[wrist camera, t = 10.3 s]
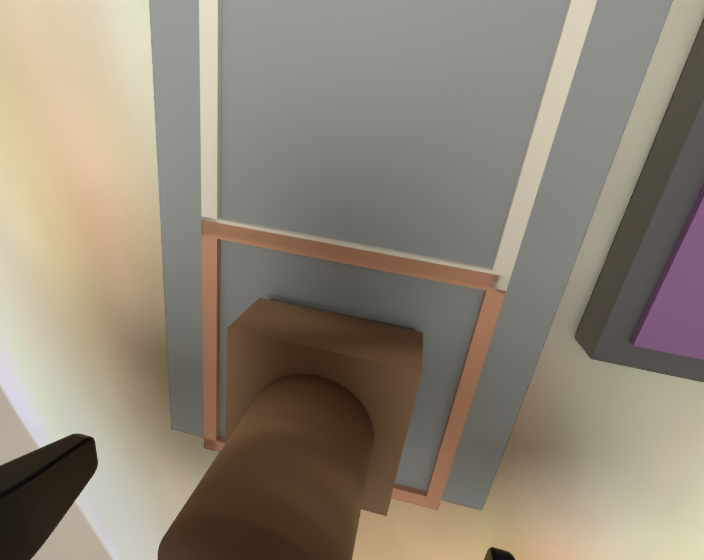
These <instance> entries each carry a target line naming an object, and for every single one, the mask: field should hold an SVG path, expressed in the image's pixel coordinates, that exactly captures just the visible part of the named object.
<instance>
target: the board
mask: <svg viewBox="0 0 704 560" xmlns="http://www.w3.org/2000/svg"><path fill="white" fill-rule="evenodd" d="M672 2H673V0H149V6H150V26H151V45H152V64H153V83H154V102H155V122H156V141H157V160H158V179H159V199H160V218H161V237H162V256H163V275H164V295H165V314H166V333H167V352H168V372H169V391H170V410H171V429H174V430H178V431H182V432H185V433H189V434H193V435H197V436H201V437H204V448H206V449H210V450H214V451H218V452H220V451H221V450H222V448H223V447H224V445H225V417H226V364H227V328H228V327H229V326H230V325H231V324H232V323H233V322H234V321H235V320H236V319H237V318H238V317H239V316H240V315H241V314H242V313H244V312H245V311H246V310H247V309H248V308H249V307H250V306H251V305H252V304H253V303H254V302H255V301H256V300H257V299H258V298H263V299H268V300H271V299H276V300H280V301H285V302H290V303H294V304H299V305H304V306H308V307H313V308H318V309H323V310H327V311H332V312H337V313H341V314H346V315H351V316H356V317H360V318H365V319H370V320H374V321H379V322H384V323H389V324H393V325H398V326H403V327H407V328H412V329H415V331H418V332H423V357H422V374H421V378H420V382H419V386H418V390H417V395H416V399H415V403H414V407H413V411H412V415H411V419H410V423H409V427H408V431H407V435H406V439H405V443H404V447H403V451H402V455H401V459H400V463H399V467H398V471H397V475H396V479H395V483H394V487H393V491H392V495H391V498H393V499H397V500H401V501H405V502H408V503H412V504H416V505H420V506H423V507H427V508H431V509H435V510H438V507H439V504H440V501H441V500H443V501H447V502H451V503H455V504H459V505H462V506H466V507H470V508H474V509H477V510H481V511H482V509H483V506H484V503H485V501H486V498H487V495H488V493H489V490H490V487H491V485H492V482H493V479H494V477H495V474H496V471H497V469H498V466H499V463H500V461H501V458H502V455H503V453H504V450H505V447H506V445H507V442H508V439H509V437H510V434H511V431H512V429H513V426H514V423H515V421H516V418H517V415H518V413H519V410H520V407H521V405H522V402H523V399H524V397H525V394H526V391H527V389H528V386H529V383H530V381H531V378H532V375H533V373H534V370H535V367H536V365H537V362H538V359H539V357H540V354H541V351H542V349H543V346H544V343H545V341H546V338H547V335H548V333H549V330H550V327H551V325H552V322H553V319H554V317H555V314H556V311H557V309H558V306H559V303H560V301H561V298H562V295H563V293H564V290H565V287H566V285H567V282H568V279H569V277H570V274H571V271H572V269H573V266H574V263H575V261H576V258H577V255H578V253H579V250H580V247H581V245H582V242H583V239H584V237H585V234H586V231H587V229H588V226H589V223H590V221H591V218H592V215H593V213H594V210H595V207H596V205H597V202H598V199H599V197H600V194H601V191H602V189H603V186H604V183H605V181H606V178H607V175H608V173H609V170H610V167H611V165H612V162H613V159H614V157H615V154H616V151H617V149H618V146H619V143H620V141H621V138H622V135H623V133H624V130H625V127H626V125H627V122H628V119H629V117H630V114H631V111H632V109H633V106H634V103H635V100H636V98H637V95H638V92H639V90H640V87H641V84H642V82H643V79H644V76H645V74H646V71H647V68H648V66H649V63H650V60H651V58H652V55H653V52H654V50H655V47H656V44H657V42H658V39H659V36H660V34H661V31H662V28H663V26H664V23H665V20H666V18H667V15H668V12H669V10H670V7H671V4H672Z"/></svg>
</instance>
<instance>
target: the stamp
mask: <svg viewBox="0 0 704 560" xmlns="http://www.w3.org/2000/svg"><path fill="white" fill-rule="evenodd" d="M422 357H423V332H418V331H415V329H412V328H407V327H403V326H398V325H393V324H389V323H384V322H379V321H374V320H370V319H365V318H360V317H356V316H351V315H346V314H341V313H337V312H332V311H327V310H323V309H318V308H313V307H308V306H304V305H299V304H294V303H290V302H285V301H280V300H276V299H271V300H268V299H263V298H258V299H257V300H256V301H255V302H254V303H253V304H252V305H251V306H250V307H249V308H248V309H247V310H246V311H245V312H244V313H242V314H241V315H240V316H239V317H238V318H237V319H236V320H235V321H234V322H233V323H232V324H231V325H230V326H229V327H228V328H227V364H226V417H225V445H224V447H223V448H222V450H221V451H220V453H219V454H218V456H217V457H216V459H215V460H214V462H213V463H212V465H211V466H210V468H209V469H208V471H207V472H206V474H205V475H204V477H203V478H202V480H201V481H200V483H199V484H198V486H197V487H196V489H195V490H194V492H193V493H192V495H191V496H190V498H189V499H188V501H187V502H186V504H185V505H184V507H183V508H182V510H181V511H180V513H179V514H178V516H177V517H176V519H175V520H174V522H173V523H172V525H171V526H170V528H169V529H168V531H167V532H166V534H165V535H164V537H163V538H162V541H161V543H160V545H159V550H158V560H352V555H353V549H354V544H355V538H356V533H357V527H358V522H359V516H360V511H361V509H362V510H366V511H370V512H373V513H377V514H381V515H384V516H387V512H388V508H389V503H390V499H391V495H392V491H393V487H394V483H395V479H396V475H397V471H398V467H399V463H400V459H401V455H402V451H403V447H404V443H405V439H406V435H407V431H408V427H409V423H410V419H411V415H412V411H413V407H414V403H415V399H416V395H417V390H418V386H419V382H420V378H421V374H422Z"/></svg>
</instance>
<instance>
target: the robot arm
mask: <svg viewBox="0 0 704 560" xmlns="http://www.w3.org/2000/svg"><path fill="white" fill-rule="evenodd" d="M97 465H98V459H97V452H96V446H95V441H94V439H93V438H92V437H90V436H86V435H83V434H72V435H69V436H67V437H65V438H63V439H60V440H58V441H56V442H53V443H51V444H49V445H46V446H44V447H42V448H40V449H37V450H35V451H33V452H30V453H28V454H26V455H23V456H21V457H19V458H17V459H14V460H12V461H10V462H7V463H5V464H3V465H1V466H0V560H30V559H32V557H33V556H34V555H35V554H36V553H37V551H38V550H39V549H40V548H41V546H42V545H43V544H44V542H45V541H46V540H47V539H48V537H49V536H50V535H51V533H52V532H53V531H54V529H55V528H56V527H57V525H58V524H59V522H60V521H61V520H62V518H63V517H64V515H65V514H66V513H67V511H68V510H69V508H70V507H71V506H72V504H73V503H74V501H75V500H76V499H77V497H78V496H79V494H80V493H81V492H82V490H83V489H84V487H85V486H86V485H87V483H88V482H89V480H90V479H91V478H92V476H93V475H94V473H95V471H96V469H97ZM484 560H515V558H514V557H513V555H512V554H511V553H510V552H508V551H505V550H501V549H497V548H494V547H491V548H489V549H488V551H487V553H486V556H485V558H484Z"/></svg>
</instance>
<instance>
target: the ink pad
mask: <svg viewBox="0 0 704 560" xmlns="http://www.w3.org/2000/svg"><path fill="white" fill-rule="evenodd" d="M575 338H576V339H577V341H578V342H579V344H580V345H581V346H582V348H583V349H584V350H585V352H586V353H587V354H588V356H589V357H590V358H591V359H594V360H599V361H604V362H608V363H613V364H618V365H623V366H628V367H633V368H637V369H642V370H647V371H652V372H657V373H661V374H666V375H671V376H676V377H681V378H686V379H690V380H695V381H700V382H704V21H703V23H702V26H701V28H700V31H699V33H698V36H697V38H696V40H695V43H694V45H693V48H692V50H691V53H690V55H689V58H688V60H687V63H686V65H685V68H684V70H683V72H682V75H681V77H680V80H679V82H678V85H677V87H676V90H675V92H674V95H673V97H672V100H671V102H670V104H669V107H668V109H667V112H666V114H665V117H664V119H663V122H662V124H661V127H660V129H659V132H658V134H657V136H656V139H655V141H654V144H653V146H652V149H651V151H650V154H649V156H648V159H647V161H646V164H645V166H644V168H643V171H642V173H641V176H640V178H639V181H638V183H637V186H636V188H635V191H634V193H633V195H632V198H631V200H630V203H629V205H628V208H627V210H626V213H625V215H624V218H623V220H622V223H621V225H620V227H619V230H618V232H617V235H616V237H615V240H614V242H613V245H612V247H611V250H610V252H609V255H608V257H607V259H606V262H605V264H604V267H603V269H602V272H601V274H600V277H599V279H598V282H597V284H596V287H595V289H594V291H593V294H592V296H591V299H590V301H589V304H588V306H587V309H586V311H585V314H584V316H583V319H582V321H581V323H580V326H579V328H578V331H577V333H576V336H575Z"/></svg>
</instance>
